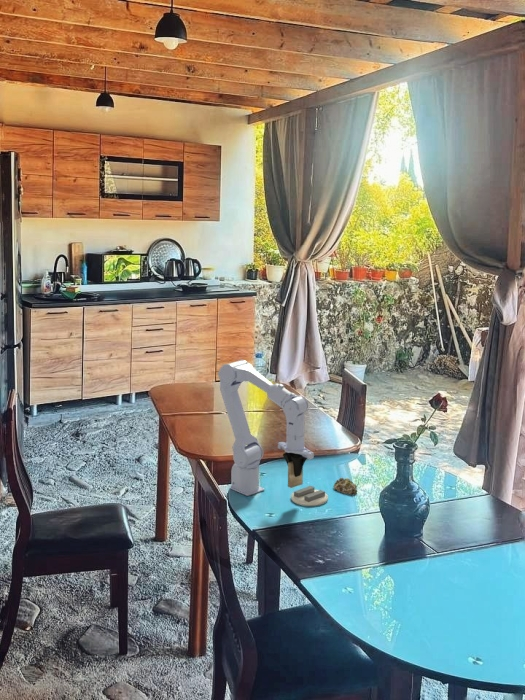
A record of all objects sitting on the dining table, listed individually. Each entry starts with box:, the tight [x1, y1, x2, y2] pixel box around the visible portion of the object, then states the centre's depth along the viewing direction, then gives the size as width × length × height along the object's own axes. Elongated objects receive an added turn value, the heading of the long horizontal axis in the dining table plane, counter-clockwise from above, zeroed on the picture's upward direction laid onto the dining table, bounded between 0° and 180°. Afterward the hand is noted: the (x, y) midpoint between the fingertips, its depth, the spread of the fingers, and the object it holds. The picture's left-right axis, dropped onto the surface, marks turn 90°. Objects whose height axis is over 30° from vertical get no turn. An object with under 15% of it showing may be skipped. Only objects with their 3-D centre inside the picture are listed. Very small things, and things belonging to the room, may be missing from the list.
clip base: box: [290, 485, 329, 507], centre depth 239 cm, size 12×12×2 cm
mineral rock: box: [333, 477, 358, 496], centre depth 247 cm, size 11×4×8 cm
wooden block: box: [287, 462, 304, 489], centre depth 234 cm, size 2×5×8 cm, turn 131°
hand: (295, 475), depth 234 cm, fingers closed on wooden block, 1 cm apart
